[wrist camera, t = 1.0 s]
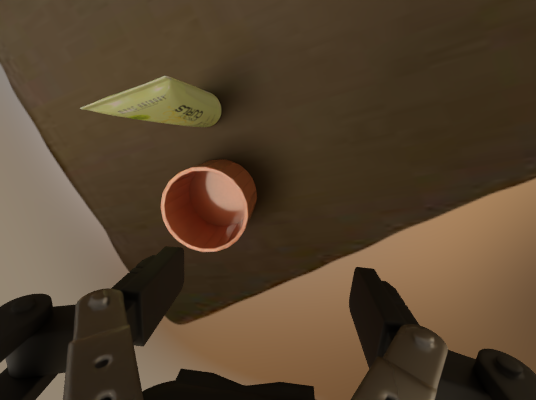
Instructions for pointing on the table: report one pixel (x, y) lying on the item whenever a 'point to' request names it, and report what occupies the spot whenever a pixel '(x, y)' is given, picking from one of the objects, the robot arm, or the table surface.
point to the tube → (163, 103)
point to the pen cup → (209, 205)
